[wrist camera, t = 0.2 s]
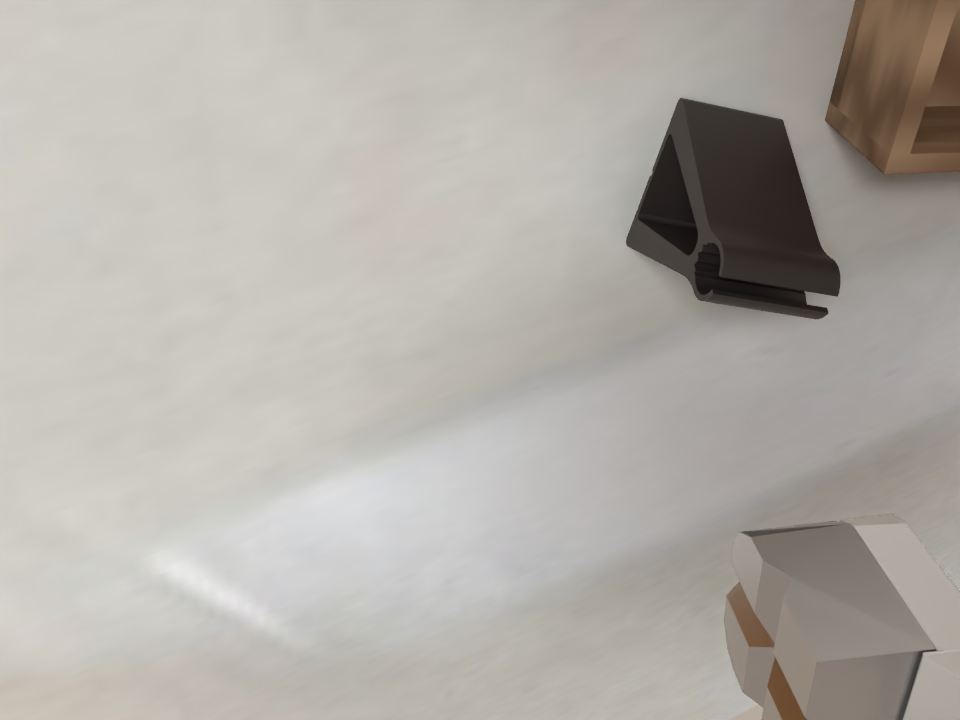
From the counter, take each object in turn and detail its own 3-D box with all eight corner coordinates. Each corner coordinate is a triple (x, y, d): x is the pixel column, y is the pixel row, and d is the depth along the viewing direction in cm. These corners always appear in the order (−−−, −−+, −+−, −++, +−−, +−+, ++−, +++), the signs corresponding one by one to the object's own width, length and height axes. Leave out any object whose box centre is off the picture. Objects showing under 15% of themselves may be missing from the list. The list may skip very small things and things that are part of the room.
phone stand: (680, 95, 46) (758, 195, 37) (780, 117, 47) (881, 220, 38) (624, 241, 51) (680, 363, 42) (716, 258, 52) (791, 379, 43)
